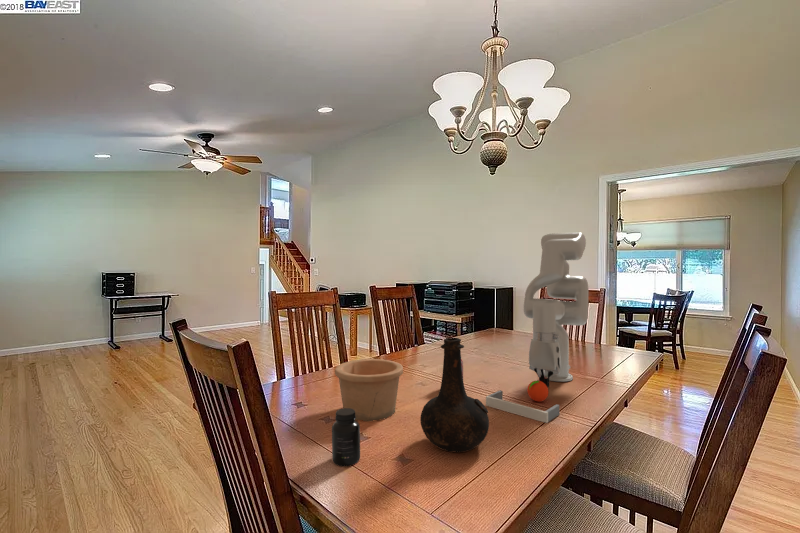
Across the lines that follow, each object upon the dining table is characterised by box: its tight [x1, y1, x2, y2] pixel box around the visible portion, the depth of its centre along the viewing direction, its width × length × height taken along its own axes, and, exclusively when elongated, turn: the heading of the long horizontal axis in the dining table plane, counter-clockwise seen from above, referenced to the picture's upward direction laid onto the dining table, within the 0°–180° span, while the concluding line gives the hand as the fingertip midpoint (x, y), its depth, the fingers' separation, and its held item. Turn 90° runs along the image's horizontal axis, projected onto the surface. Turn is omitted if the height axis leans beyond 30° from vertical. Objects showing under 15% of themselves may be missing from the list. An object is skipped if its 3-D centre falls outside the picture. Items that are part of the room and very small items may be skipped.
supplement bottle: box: [331, 407, 361, 467], centre depth 98 cm, size 7×7×12 cm
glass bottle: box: [419, 337, 490, 453], centre depth 106 cm, size 18×18×28 cm
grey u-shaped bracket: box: [485, 389, 560, 424], centre depth 130 cm, size 9×21×3 cm, turn 45°
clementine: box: [526, 380, 549, 403], centre depth 138 cm, size 8×7×7 cm
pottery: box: [334, 358, 404, 422], centre depth 130 cm, size 22×22×14 cm
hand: (544, 388), depth 142 cm, fingers closed
